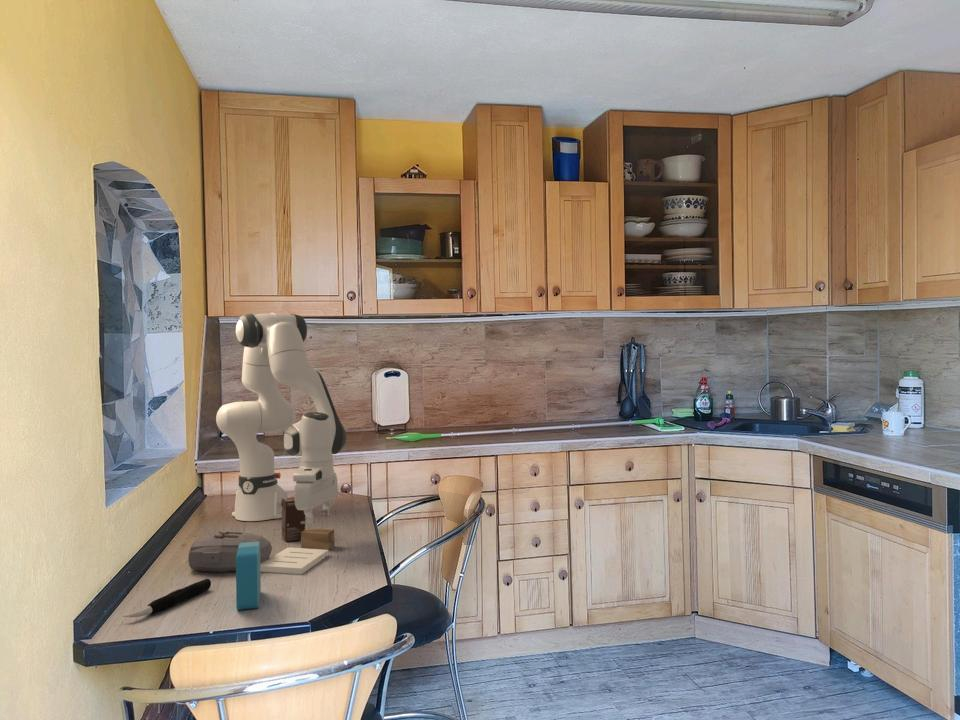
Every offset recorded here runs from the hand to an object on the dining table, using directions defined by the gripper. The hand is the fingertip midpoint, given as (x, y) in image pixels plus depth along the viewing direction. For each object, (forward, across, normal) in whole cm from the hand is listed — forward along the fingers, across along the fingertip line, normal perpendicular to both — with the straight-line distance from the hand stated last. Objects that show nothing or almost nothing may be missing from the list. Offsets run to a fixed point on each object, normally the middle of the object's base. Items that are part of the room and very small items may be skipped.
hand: (318, 519), depth 190 cm
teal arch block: (+9, +40, +3) cm, 42 cm away
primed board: (+8, +14, 0) cm, 16 cm away
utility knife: (+9, +46, -13) cm, 48 cm away
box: (+8, -8, -12) cm, 16 cm away
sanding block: (+8, 0, 0) cm, 8 cm away
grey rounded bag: (+8, +18, -15) cm, 25 cm away
